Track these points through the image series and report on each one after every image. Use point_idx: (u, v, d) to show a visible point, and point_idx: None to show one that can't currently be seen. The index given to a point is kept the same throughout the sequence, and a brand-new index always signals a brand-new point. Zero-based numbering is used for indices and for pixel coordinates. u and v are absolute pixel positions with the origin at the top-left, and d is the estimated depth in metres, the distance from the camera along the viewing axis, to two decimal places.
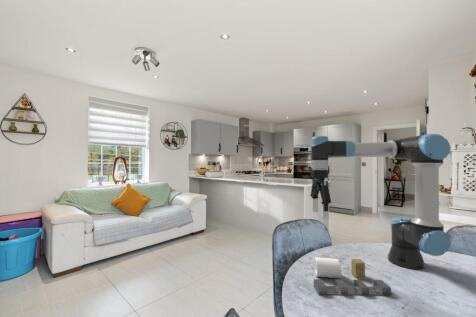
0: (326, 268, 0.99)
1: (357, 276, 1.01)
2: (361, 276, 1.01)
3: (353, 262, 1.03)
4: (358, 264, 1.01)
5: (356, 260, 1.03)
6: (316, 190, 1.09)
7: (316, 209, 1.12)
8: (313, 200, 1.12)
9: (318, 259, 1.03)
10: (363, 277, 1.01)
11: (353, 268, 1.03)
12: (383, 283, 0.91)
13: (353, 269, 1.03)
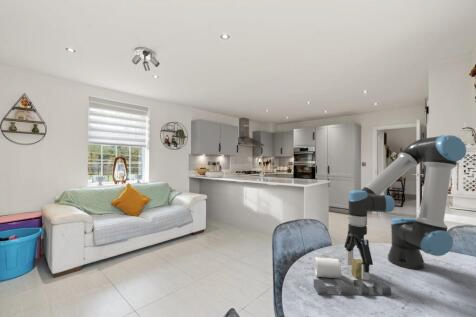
0: (326, 268, 0.99)
1: (357, 276, 1.01)
2: (361, 276, 1.01)
3: (353, 262, 1.03)
4: (358, 264, 1.01)
5: (356, 260, 1.03)
6: (352, 244, 1.07)
7: None
8: (348, 253, 1.10)
9: (318, 259, 1.03)
10: None
11: (353, 268, 1.03)
12: (383, 283, 0.91)
13: (353, 269, 1.03)
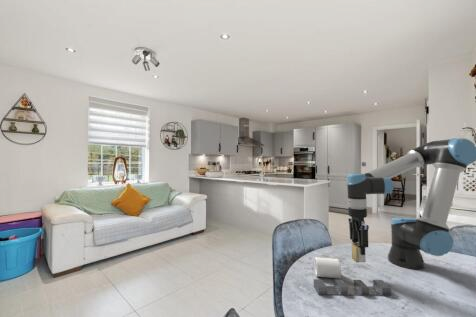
0: (326, 268, 0.99)
1: (357, 259, 1.01)
2: None
3: (353, 246, 1.03)
4: None
5: (356, 244, 1.04)
6: (355, 230, 1.05)
7: None
8: None
9: (318, 259, 1.03)
10: None
11: (353, 252, 1.03)
12: (383, 283, 0.91)
13: (353, 253, 1.03)
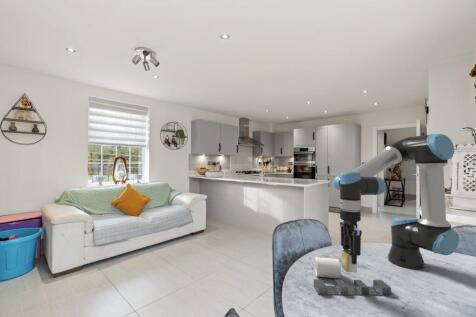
0: (326, 268, 0.99)
1: (348, 269, 0.89)
2: None
3: (344, 253, 0.91)
4: None
5: (347, 251, 0.92)
6: (347, 236, 0.93)
7: None
8: None
9: (318, 259, 1.03)
10: None
11: (344, 260, 0.91)
12: (383, 283, 0.91)
13: (343, 261, 0.91)
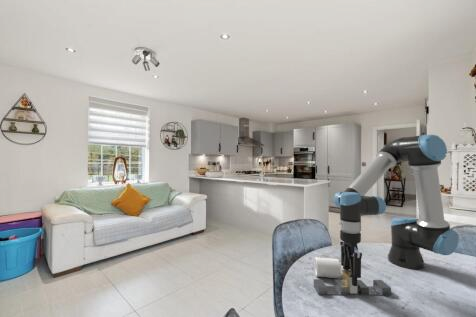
0: (326, 268, 0.99)
1: (348, 290, 0.89)
2: None
3: (344, 274, 0.91)
4: None
5: (347, 271, 0.92)
6: (347, 256, 0.93)
7: None
8: None
9: (318, 259, 1.03)
10: None
11: (344, 280, 0.91)
12: (383, 283, 0.91)
13: (344, 282, 0.91)
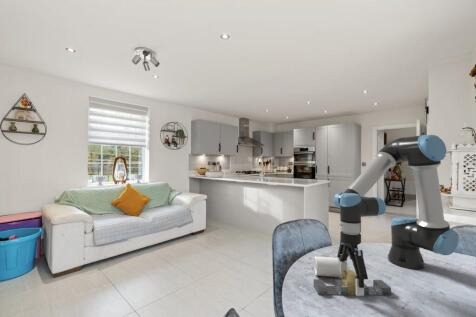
0: (326, 266, 1.00)
1: (348, 290, 0.89)
2: (353, 290, 0.89)
3: (344, 274, 0.91)
4: (349, 276, 0.89)
5: (347, 272, 0.92)
6: (345, 254, 0.95)
7: None
8: (341, 264, 0.98)
9: (318, 258, 1.03)
10: (355, 291, 0.89)
11: (344, 280, 0.91)
12: (383, 283, 0.91)
13: (344, 282, 0.91)
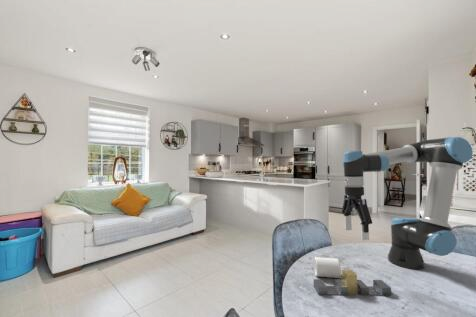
0: (326, 268, 1.00)
1: (348, 290, 0.89)
2: (353, 290, 0.89)
3: (344, 274, 0.91)
4: (349, 276, 0.89)
5: (347, 272, 0.92)
6: (350, 207, 1.03)
7: (350, 226, 1.06)
8: (346, 217, 1.06)
9: (318, 259, 1.03)
10: (355, 291, 0.89)
11: (344, 280, 0.91)
12: (383, 283, 0.91)
13: (344, 282, 0.91)
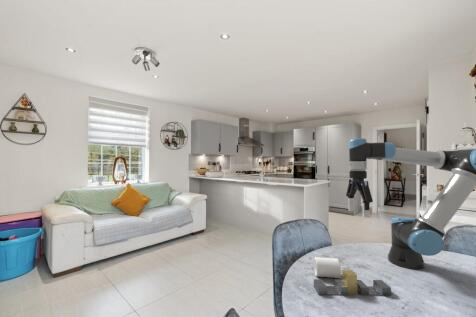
0: (326, 268, 1.00)
1: (348, 290, 0.89)
2: (353, 290, 0.89)
3: (344, 274, 0.91)
4: (349, 276, 0.89)
5: (347, 272, 0.92)
6: (353, 190, 1.14)
7: (353, 208, 1.17)
8: (350, 199, 1.17)
9: (318, 259, 1.03)
10: (355, 291, 0.89)
11: (344, 280, 0.91)
12: (383, 283, 0.91)
13: (344, 282, 0.91)
